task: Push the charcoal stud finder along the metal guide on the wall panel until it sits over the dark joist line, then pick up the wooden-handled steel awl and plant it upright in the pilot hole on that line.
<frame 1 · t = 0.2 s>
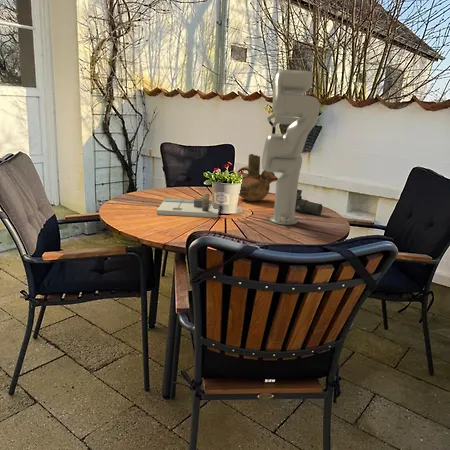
hand: (283, 136, 205), 36 cm above the table, tool pointing down, fingers open, 9 cm apart
laser sight: (298, 211, 213), on the table
awl: (205, 210, 196), point 2 cm above the table, touching wall panel
wall panel: (189, 209, 204), on the table
stud finder: (200, 201, 205), point 4 cm above the table, slide at 0.0 cm
ceramic vessel: (253, 201, 231), on the table
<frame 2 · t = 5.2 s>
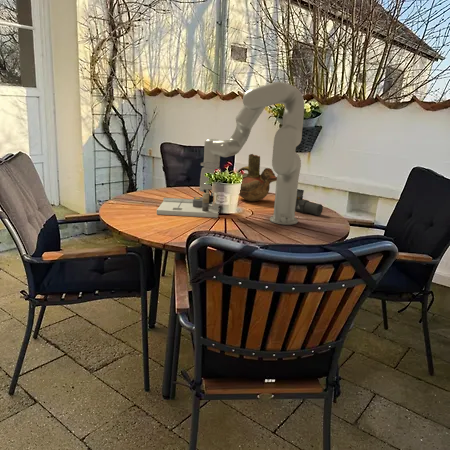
hand: (209, 203, 205), 3 cm above the table, tool pointing down, fingers closed
stud finder: (199, 201, 205), point 4 cm above the table, slide at 0.4 cm, touching gripper
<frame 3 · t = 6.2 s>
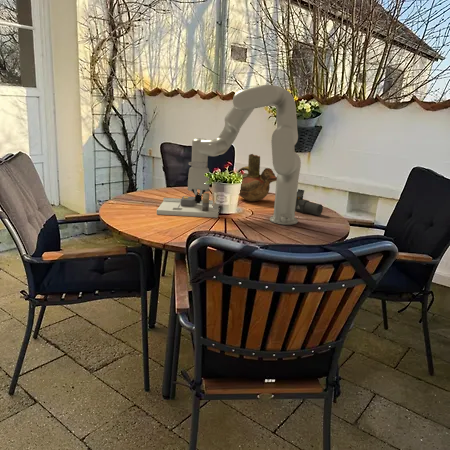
hand: (198, 202, 205), 3 cm above the table, tool pointing down, fingers closed
stud finder: (188, 200, 205), point 4 cm above the table, slide at 6.2 cm, touching gripper
everything else where it was.
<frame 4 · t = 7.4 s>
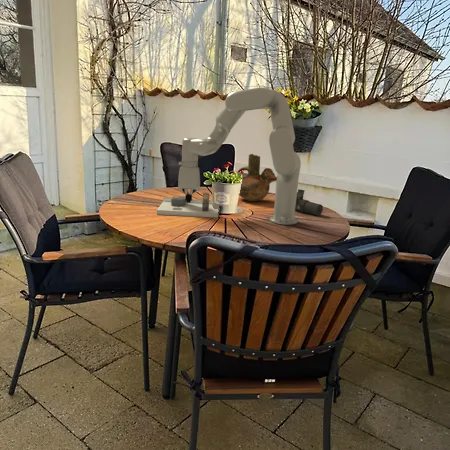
hand: (188, 202, 205), 3 cm above the table, tool pointing down, fingers closed
stud finder: (178, 200, 205), point 4 cm above the table, slide at 10.9 cm, touching gripper
everything else where it was.
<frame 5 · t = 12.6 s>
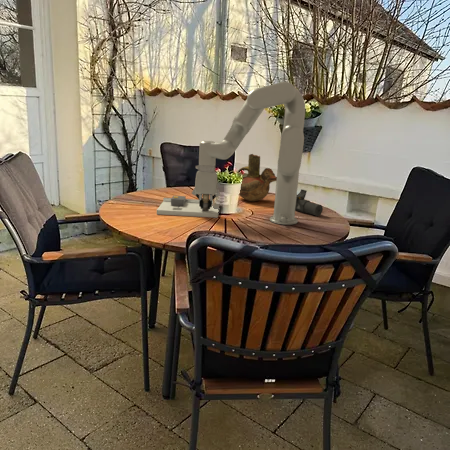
hand: (205, 208, 195), 3 cm above the table, tool pointing down, fingers closed on awl, 3 cm apart
awl: (205, 210, 196), point 2 cm above the table, touching gripper, wall panel
stud finder: (178, 200, 205), point 4 cm above the table, slide at 11.0 cm
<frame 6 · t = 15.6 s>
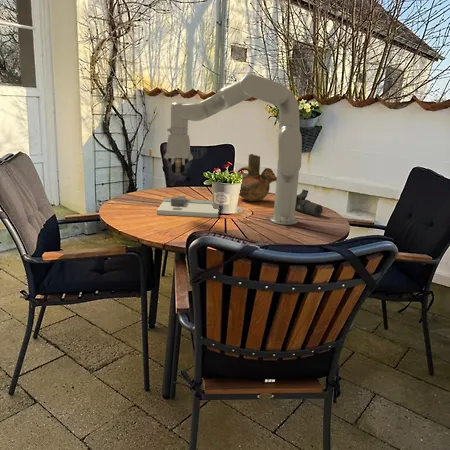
hand: (178, 172, 191), 19 cm above the table, tool pointing down, fingers closed on awl, 3 cm apart
awl: (178, 175, 191), point 18 cm above the table, touching gripper
when the fingers open (3 cm above the table, at t = 18.7 s): awl drops 2 cm, resting in wall panel.
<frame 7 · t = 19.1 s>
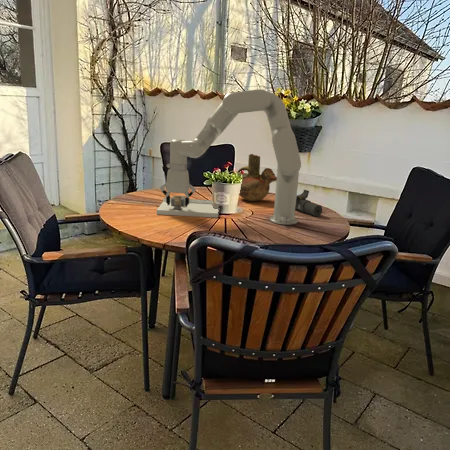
hand: (177, 205, 195), 4 cm above the table, tool pointing down, fingers open, 7 cm apart
awl: (177, 213, 196), resting in wall panel
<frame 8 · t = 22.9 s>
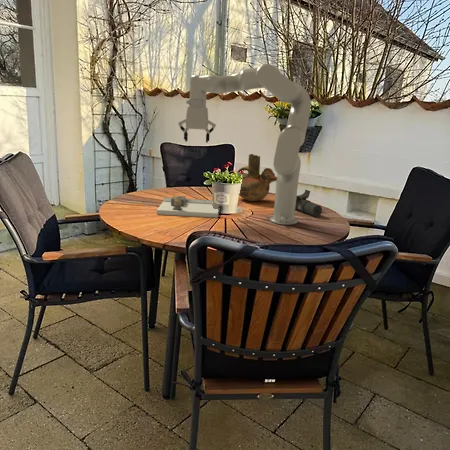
hand: (196, 141, 197), 32 cm above the table, tool pointing down, fingers open, 9 cm apart
at the end: stud finder slide at 11.0 cm; awl 0.0 cm from the target spot on the wall panel, point 0.0 cm above the wall panel's base; awl tilted 0° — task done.
